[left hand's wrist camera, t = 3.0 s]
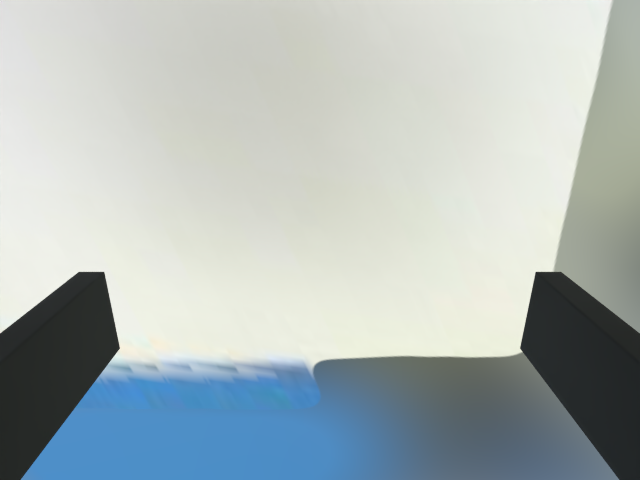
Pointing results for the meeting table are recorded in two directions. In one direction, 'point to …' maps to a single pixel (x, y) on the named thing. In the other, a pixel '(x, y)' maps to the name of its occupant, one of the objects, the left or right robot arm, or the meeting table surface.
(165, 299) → the meeting table surface
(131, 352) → the meeting table surface
